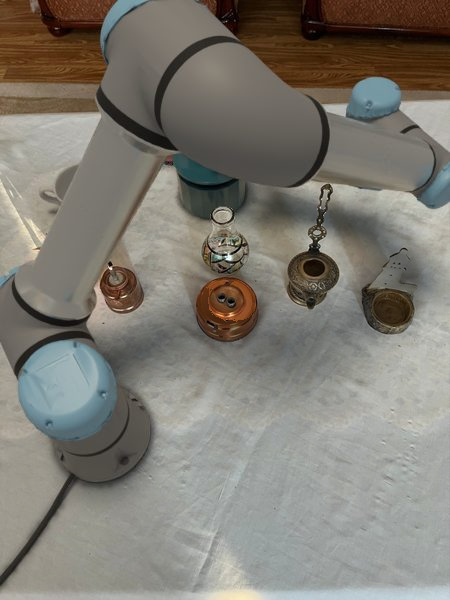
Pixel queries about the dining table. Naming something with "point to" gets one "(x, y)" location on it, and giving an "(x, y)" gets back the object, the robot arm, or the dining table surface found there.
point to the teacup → (59, 185)
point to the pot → (210, 195)
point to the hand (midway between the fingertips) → (180, 127)
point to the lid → (197, 171)
